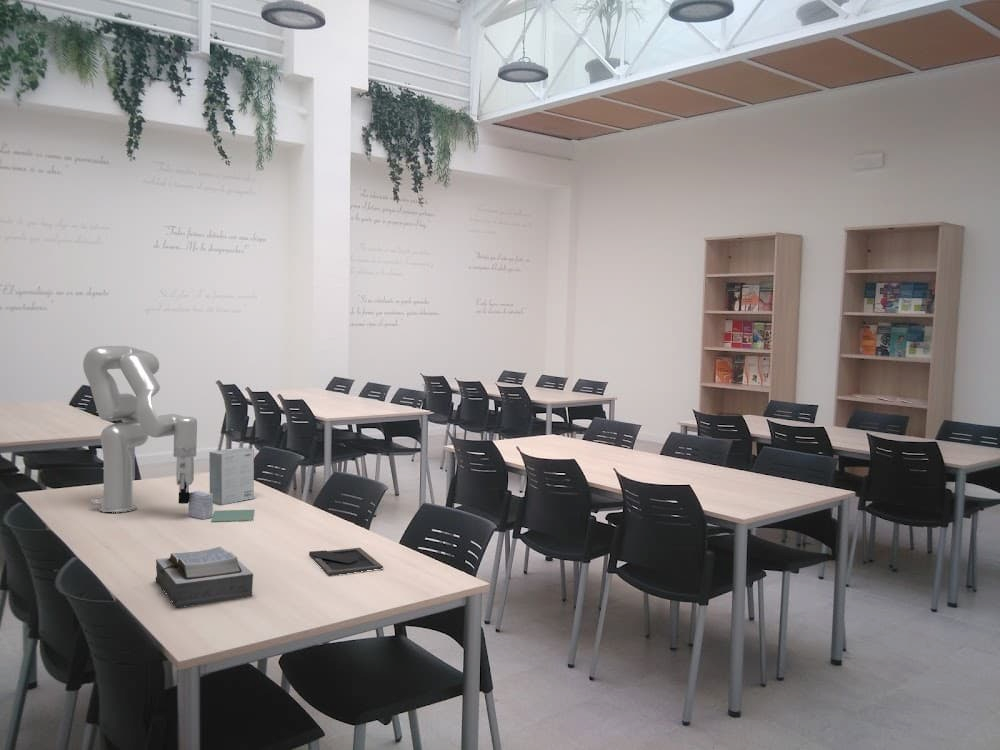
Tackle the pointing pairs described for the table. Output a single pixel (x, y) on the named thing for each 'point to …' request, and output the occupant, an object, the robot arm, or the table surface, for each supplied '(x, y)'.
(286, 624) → the table surface
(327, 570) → the picture frame
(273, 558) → the table surface
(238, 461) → the hard drive box
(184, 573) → the book on foam base
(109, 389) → the robot arm
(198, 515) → the medicine box
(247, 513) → the felt pad
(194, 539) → the table surface
